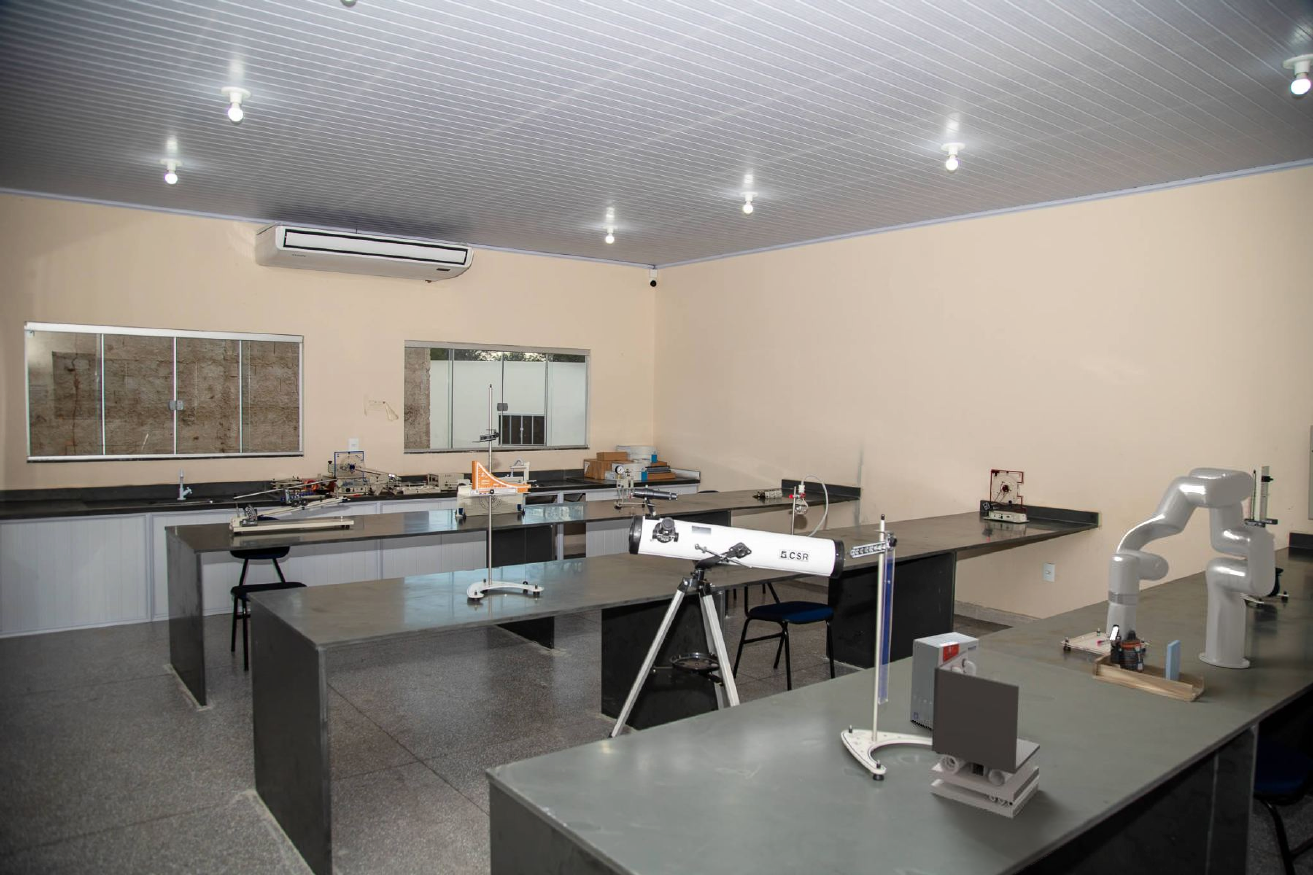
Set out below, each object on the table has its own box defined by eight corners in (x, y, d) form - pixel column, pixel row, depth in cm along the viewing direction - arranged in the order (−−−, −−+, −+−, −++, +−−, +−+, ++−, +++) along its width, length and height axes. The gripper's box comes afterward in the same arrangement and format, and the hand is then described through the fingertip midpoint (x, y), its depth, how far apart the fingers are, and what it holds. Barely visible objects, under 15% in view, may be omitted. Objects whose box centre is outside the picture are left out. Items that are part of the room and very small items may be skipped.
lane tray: (1108, 668, 245) (1109, 651, 245) (1204, 690, 228) (1205, 672, 227) (1092, 678, 236) (1093, 660, 236) (1190, 701, 219) (1191, 683, 218)
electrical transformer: (930, 792, 166) (934, 668, 165) (966, 761, 181) (970, 646, 180) (1012, 819, 156) (1017, 687, 155) (1043, 783, 171) (1048, 662, 169)
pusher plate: (1174, 681, 231) (1176, 639, 230) (1178, 682, 230) (1180, 640, 229) (1165, 688, 225) (1167, 645, 224) (1169, 689, 224) (1171, 646, 224)
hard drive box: (934, 731, 197) (936, 647, 196) (908, 720, 203) (910, 639, 202) (976, 718, 205) (979, 638, 204) (950, 708, 212) (953, 630, 210)
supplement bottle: (1148, 673, 232) (1143, 632, 232) (1125, 675, 232) (1120, 634, 233) (1139, 667, 237) (1134, 627, 238) (1117, 669, 238) (1111, 629, 238)
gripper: (1119, 591, 244) (1117, 652, 245) (1097, 600, 233) (1095, 664, 234) (1148, 595, 239) (1145, 658, 240) (1127, 605, 227) (1124, 671, 228)
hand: (1120, 660), depth 237 cm, fingers open, 5 cm apart
